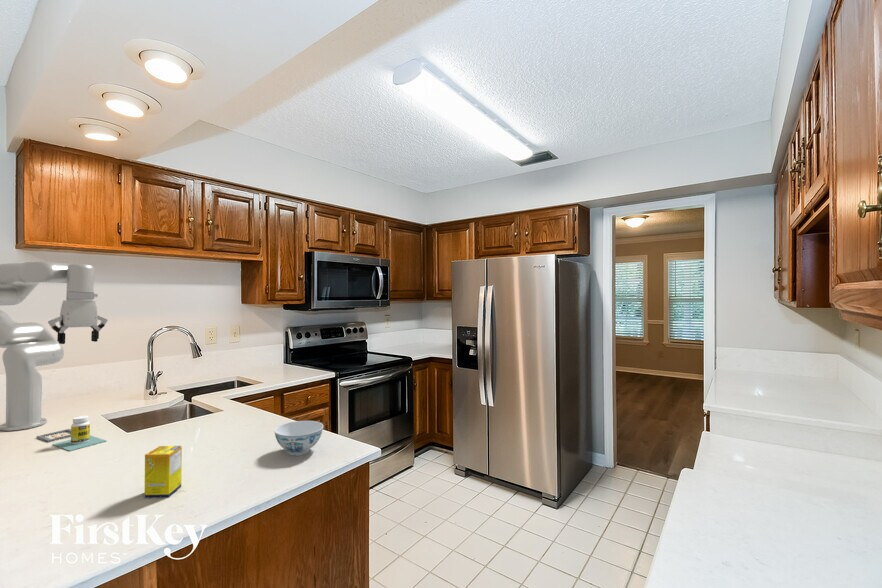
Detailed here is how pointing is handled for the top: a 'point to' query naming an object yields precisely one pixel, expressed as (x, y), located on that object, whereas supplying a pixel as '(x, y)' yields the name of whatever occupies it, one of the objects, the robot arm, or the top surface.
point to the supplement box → (163, 471)
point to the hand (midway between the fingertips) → (78, 342)
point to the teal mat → (71, 447)
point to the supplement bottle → (80, 430)
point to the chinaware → (298, 436)
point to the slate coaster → (54, 436)
